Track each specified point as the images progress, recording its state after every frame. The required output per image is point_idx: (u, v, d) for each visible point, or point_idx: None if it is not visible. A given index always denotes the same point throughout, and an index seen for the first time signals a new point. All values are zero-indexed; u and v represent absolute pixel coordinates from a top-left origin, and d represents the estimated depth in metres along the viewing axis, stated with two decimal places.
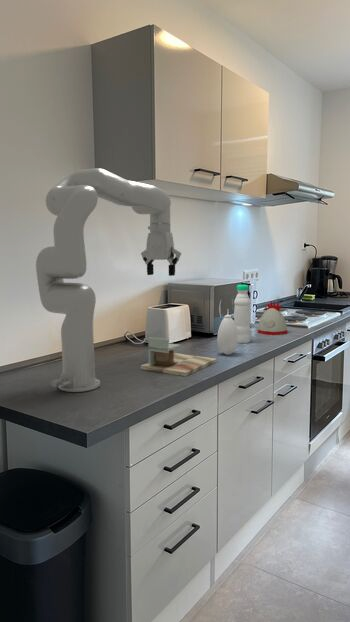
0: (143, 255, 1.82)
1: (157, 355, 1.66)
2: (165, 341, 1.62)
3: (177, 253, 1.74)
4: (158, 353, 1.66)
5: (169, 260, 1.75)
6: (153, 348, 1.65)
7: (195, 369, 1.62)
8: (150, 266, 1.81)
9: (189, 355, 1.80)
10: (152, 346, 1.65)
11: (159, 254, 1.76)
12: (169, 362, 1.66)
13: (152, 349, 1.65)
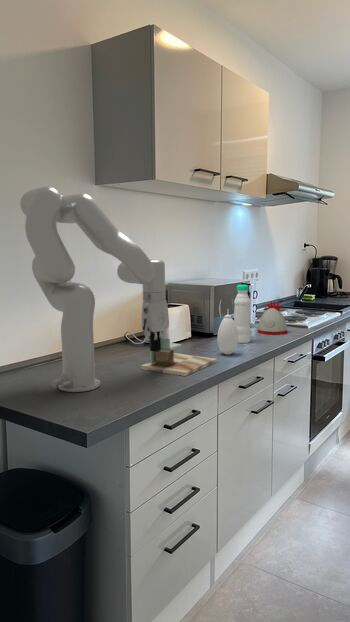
0: (149, 333, 1.58)
1: (157, 355, 1.66)
2: (166, 341, 1.62)
3: None
4: (158, 353, 1.66)
5: (160, 333, 1.62)
6: None
7: (195, 369, 1.62)
8: None
9: (189, 355, 1.80)
10: None
11: (164, 324, 1.61)
12: (169, 362, 1.66)
13: None
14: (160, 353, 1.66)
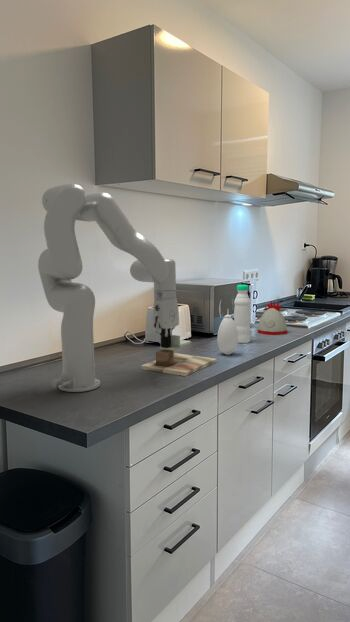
0: (160, 330, 1.63)
1: (157, 355, 1.66)
2: (176, 337, 1.68)
3: None
4: (158, 353, 1.66)
5: (171, 330, 1.67)
6: None
7: (195, 369, 1.62)
8: None
9: (189, 355, 1.80)
10: None
11: (174, 321, 1.66)
12: (169, 362, 1.66)
13: None
14: (160, 353, 1.66)
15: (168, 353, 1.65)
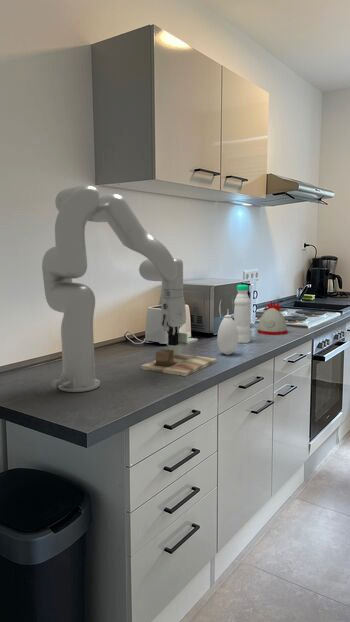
0: (168, 328, 1.67)
1: (157, 355, 1.66)
2: (183, 335, 1.72)
3: None
4: (158, 353, 1.66)
5: (178, 328, 1.71)
6: None
7: (195, 369, 1.62)
8: None
9: (189, 355, 1.80)
10: None
11: (181, 320, 1.70)
12: (169, 362, 1.66)
13: None
14: (160, 353, 1.66)
15: (168, 353, 1.65)
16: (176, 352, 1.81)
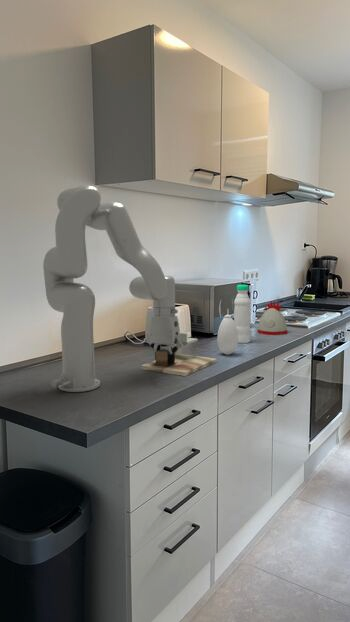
0: None
1: (157, 355, 1.66)
2: (183, 335, 1.72)
3: None
4: (158, 353, 1.66)
5: None
6: None
7: (195, 369, 1.62)
8: None
9: (189, 355, 1.80)
10: None
11: None
12: None
13: None
14: (160, 353, 1.66)
15: (168, 353, 1.65)
16: (176, 352, 1.81)
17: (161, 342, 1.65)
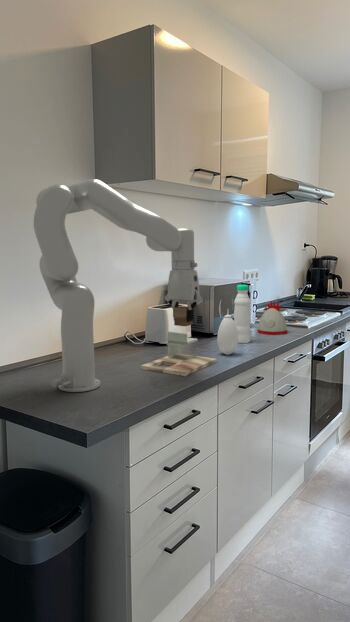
0: None
1: (176, 311, 1.60)
2: (183, 335, 1.72)
3: None
4: (176, 309, 1.60)
5: None
6: (172, 341, 1.75)
7: (195, 369, 1.62)
8: None
9: (189, 355, 1.80)
10: (171, 340, 1.75)
11: None
12: None
13: (171, 343, 1.75)
14: (179, 309, 1.59)
15: (187, 309, 1.59)
16: (176, 352, 1.81)
17: (180, 298, 1.59)
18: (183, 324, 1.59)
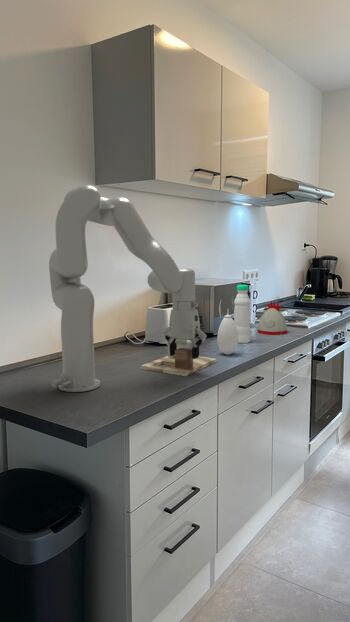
0: None
1: (176, 354, 1.62)
2: None
3: None
4: (177, 352, 1.62)
5: None
6: None
7: (195, 369, 1.62)
8: None
9: None
10: None
11: None
12: (189, 361, 1.62)
13: None
14: (179, 352, 1.61)
15: (188, 352, 1.61)
16: None
17: (181, 337, 1.60)
18: (183, 367, 1.61)
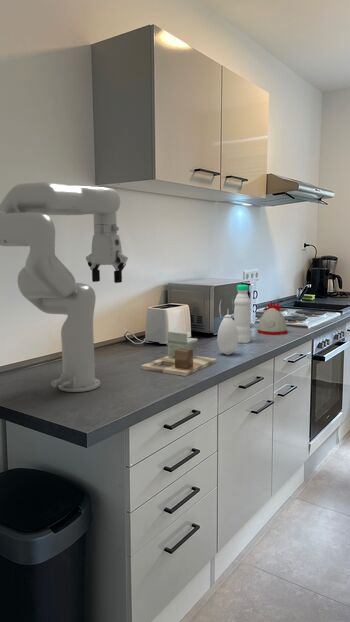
0: None
1: (176, 354, 1.62)
2: (183, 335, 1.72)
3: None
4: (177, 352, 1.62)
5: None
6: (172, 341, 1.75)
7: (195, 369, 1.62)
8: None
9: None
10: (171, 340, 1.75)
11: None
12: (189, 361, 1.62)
13: (171, 343, 1.75)
14: (179, 352, 1.61)
15: (188, 352, 1.61)
16: None
17: (102, 262, 1.59)
18: (183, 367, 1.61)
